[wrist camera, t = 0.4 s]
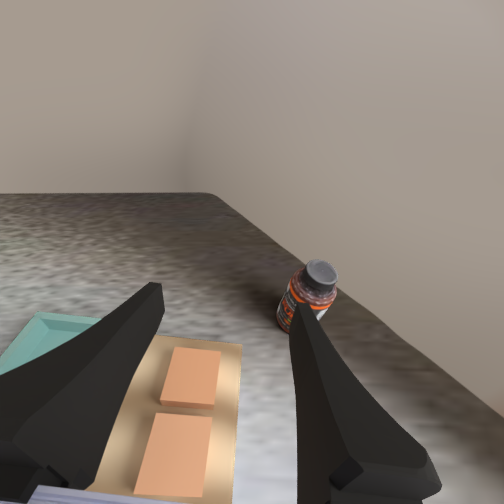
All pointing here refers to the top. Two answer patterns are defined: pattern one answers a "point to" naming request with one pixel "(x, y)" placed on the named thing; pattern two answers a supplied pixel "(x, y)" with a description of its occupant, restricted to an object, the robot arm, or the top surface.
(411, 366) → the top surface
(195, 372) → the tile
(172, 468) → the tile
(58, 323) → the tray
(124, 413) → the board
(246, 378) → the top surface
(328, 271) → the supplement bottle
